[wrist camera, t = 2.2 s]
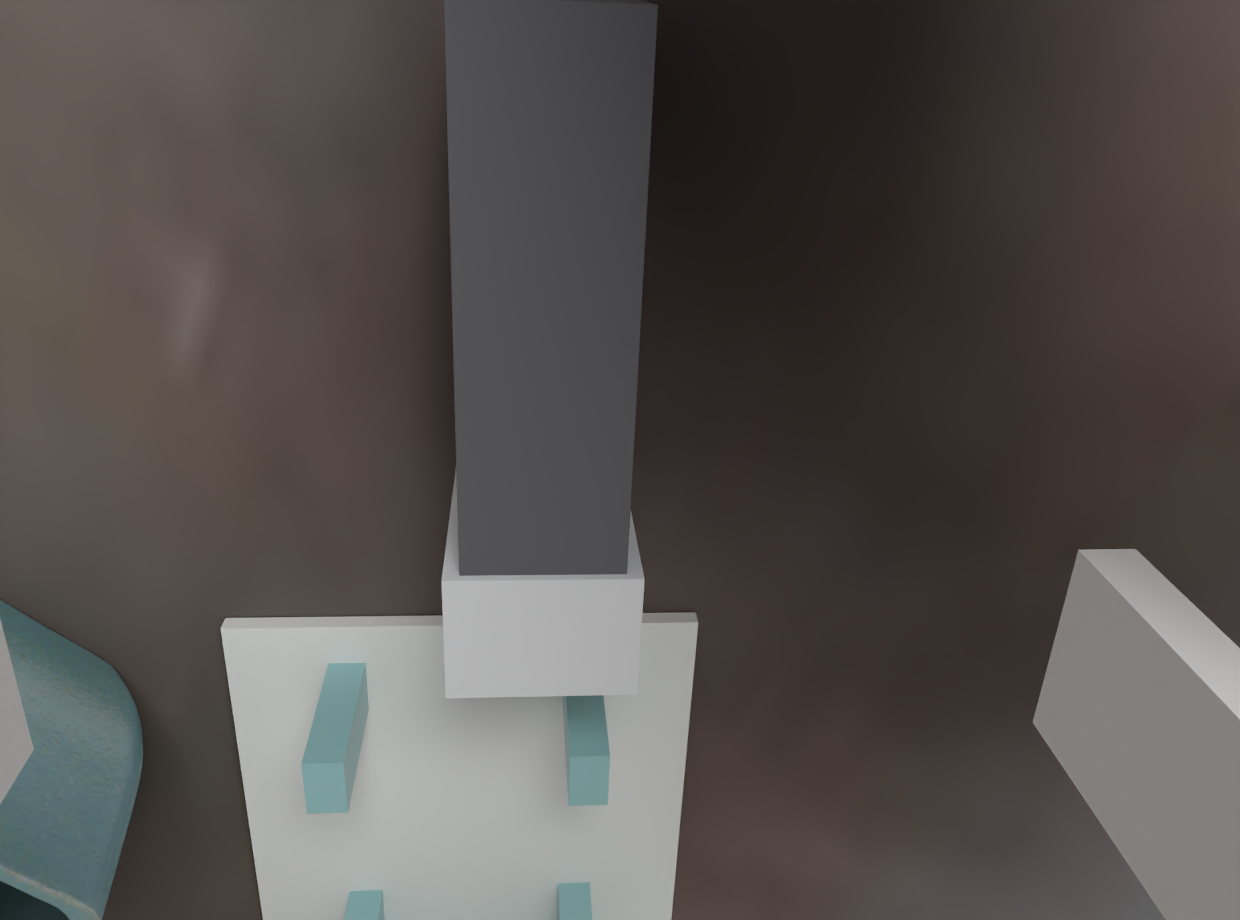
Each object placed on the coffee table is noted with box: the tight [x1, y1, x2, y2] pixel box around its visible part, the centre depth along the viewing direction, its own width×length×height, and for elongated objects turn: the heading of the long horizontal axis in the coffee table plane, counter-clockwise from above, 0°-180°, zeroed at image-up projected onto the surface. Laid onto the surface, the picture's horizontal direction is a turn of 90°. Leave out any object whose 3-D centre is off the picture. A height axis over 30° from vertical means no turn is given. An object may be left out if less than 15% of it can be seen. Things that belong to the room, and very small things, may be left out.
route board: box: [221, 612, 698, 920], centre depth 31 cm, size 17×13×4 cm
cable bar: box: [441, 0, 658, 698], centre depth 23 cm, size 14×4×6 cm, turn 178°
